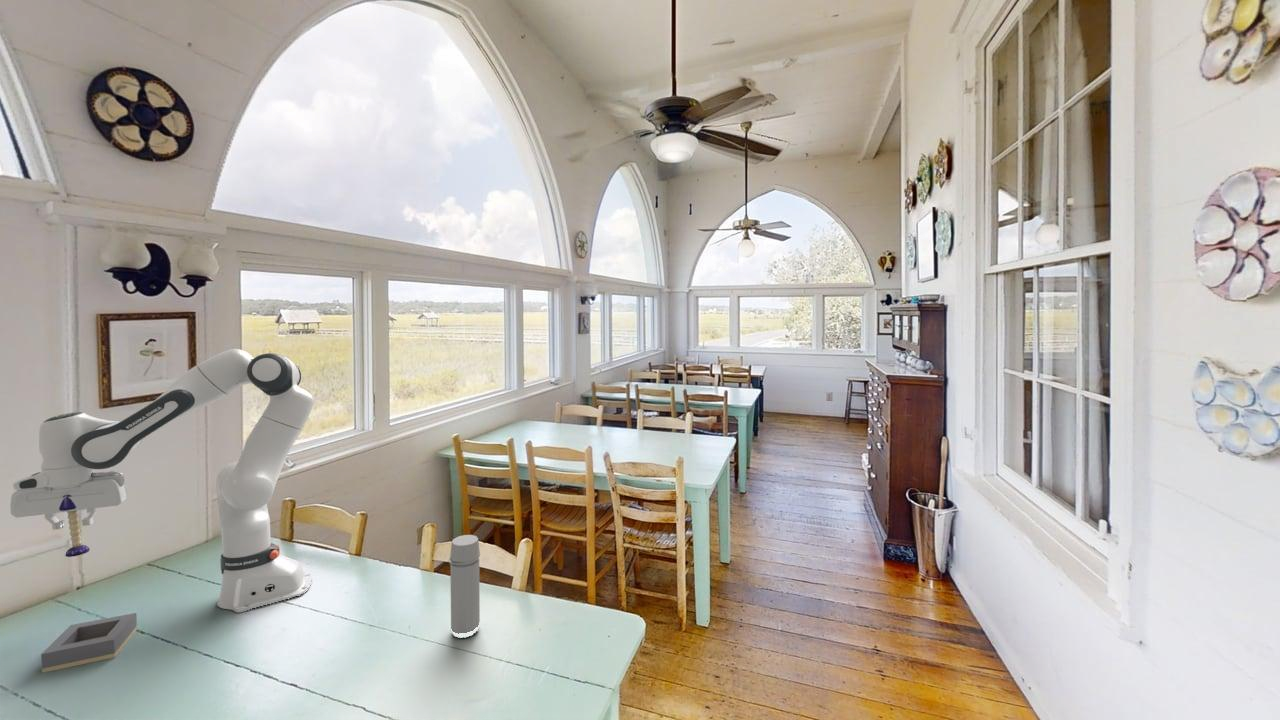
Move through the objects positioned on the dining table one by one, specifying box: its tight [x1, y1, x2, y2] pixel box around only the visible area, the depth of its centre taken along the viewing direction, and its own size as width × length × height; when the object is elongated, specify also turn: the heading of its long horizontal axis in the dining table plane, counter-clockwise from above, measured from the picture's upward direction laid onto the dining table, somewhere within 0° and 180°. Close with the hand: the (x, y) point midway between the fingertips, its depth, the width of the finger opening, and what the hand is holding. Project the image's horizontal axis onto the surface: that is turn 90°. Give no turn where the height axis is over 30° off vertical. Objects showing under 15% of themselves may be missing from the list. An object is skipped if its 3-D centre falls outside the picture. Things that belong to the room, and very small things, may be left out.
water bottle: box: [447, 534, 481, 634], centre depth 130 cm, size 9×8×25 cm
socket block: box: [40, 612, 138, 673], centre depth 120 cm, size 12×12×4 cm
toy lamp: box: [59, 495, 90, 558], centre depth 129 cm, size 5×5×17 cm
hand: (73, 526), depth 129 cm, fingers closed on toy lamp, 4 cm apart
